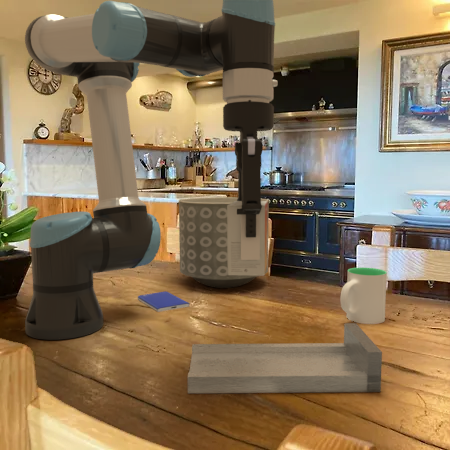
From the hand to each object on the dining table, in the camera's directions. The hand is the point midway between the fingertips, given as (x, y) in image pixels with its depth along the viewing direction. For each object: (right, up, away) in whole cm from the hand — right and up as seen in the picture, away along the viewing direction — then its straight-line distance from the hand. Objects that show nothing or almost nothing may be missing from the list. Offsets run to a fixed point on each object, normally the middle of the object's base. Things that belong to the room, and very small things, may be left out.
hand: (248, 253), depth 73 cm
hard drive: (-19, -15, +43) cm, 49 cm away
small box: (0, -3, 0) cm, 3 cm away
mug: (+26, -16, +29) cm, 42 cm away
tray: (+5, -19, +2) cm, 20 cm away
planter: (-4, -12, +63) cm, 64 cm away
